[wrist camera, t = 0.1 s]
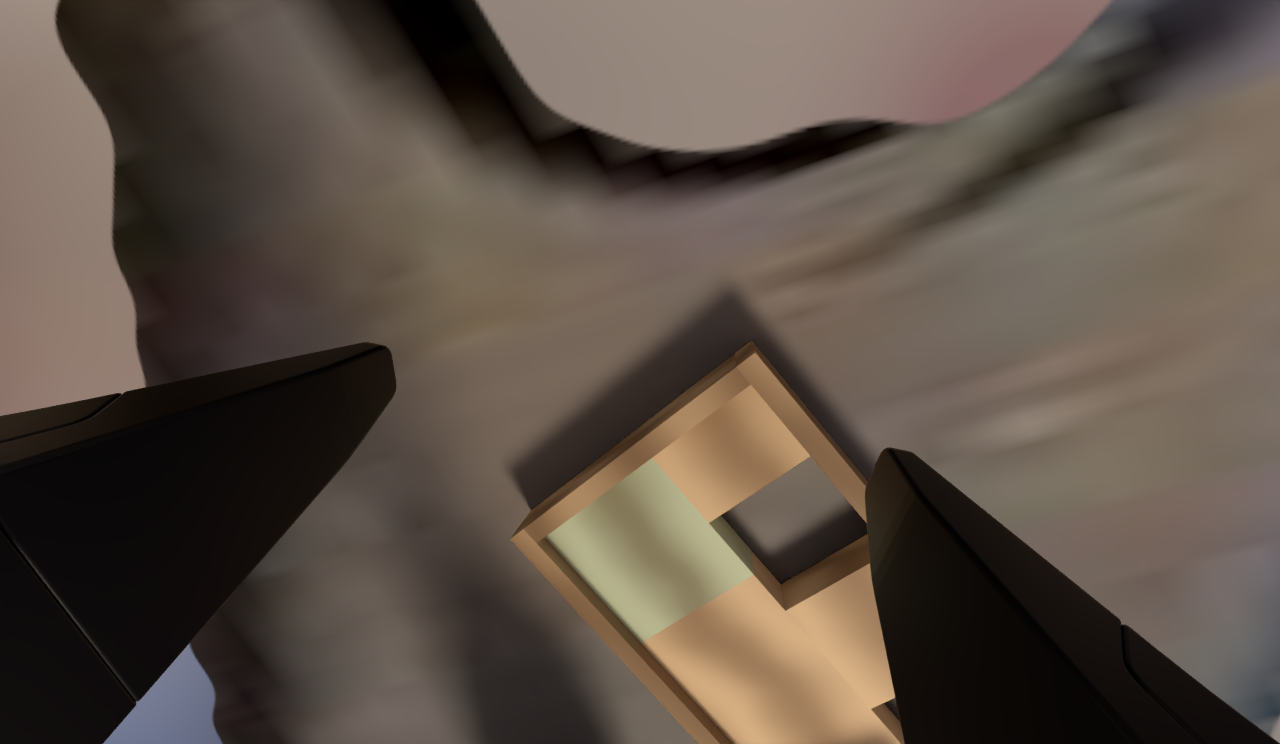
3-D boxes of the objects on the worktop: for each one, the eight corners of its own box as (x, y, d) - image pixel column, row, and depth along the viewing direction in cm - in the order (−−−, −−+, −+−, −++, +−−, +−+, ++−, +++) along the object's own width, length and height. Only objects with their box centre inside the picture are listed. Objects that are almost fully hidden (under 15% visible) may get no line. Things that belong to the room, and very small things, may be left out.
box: (854, 866, 30) (866, 926, 28) (530, 510, 28) (510, 539, 25) (1108, 772, 26) (1152, 833, 23) (751, 340, 23) (755, 352, 21)
